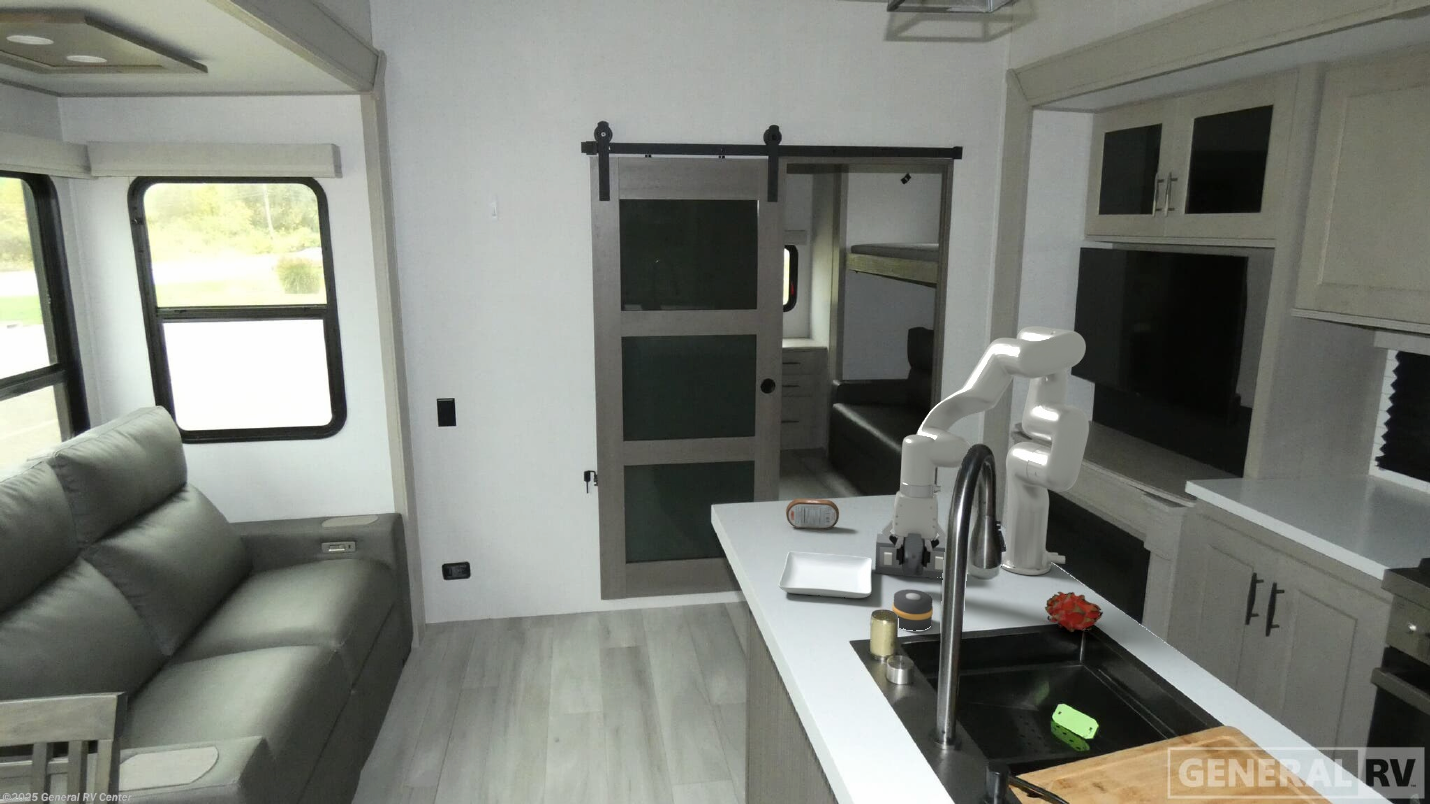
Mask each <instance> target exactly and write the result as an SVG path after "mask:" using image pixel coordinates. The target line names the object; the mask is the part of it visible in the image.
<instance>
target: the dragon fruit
mask: <svg viewBox="0 0 1430 804" xmlns="http://www.w3.org/2000/svg"><path fill="white" fill-rule="evenodd" d="M1045 604H1046V606H1044V609H1045V611H1046V613H1047V614H1048V616H1047V620H1048V621H1049V622H1050V623H1056V622H1057V625H1061V627H1060V628H1063V626H1064V628H1066V630H1067V631H1069V632H1070V633H1073V632H1074V631H1075V630H1079V631H1083V632H1084V633H1085V632H1086V631H1084V630H1083V629H1084V628H1086V630H1088V631H1091V630H1092V629H1093V628H1092V627H1091V626H1093V625H1095V624H1096V622H1098V620H1100V619H1101V618H1102V616H1103V614H1104V611H1101V610H1102V608H1101V607H1100V606H1099V605H1098V604H1095V602H1094V603H1093V602H1089V601H1088V600H1086V596H1085V595H1084V594H1079V595H1076V593H1075V592H1074V591H1072V592H1071V591H1070V592H1069V591H1068V593H1064V592H1062V591H1057V593H1054V595H1052V597H1050V598H1049V599H1047V600H1046V603H1045ZM1050 617H1051V618H1050Z"/></svg>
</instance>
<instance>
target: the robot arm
mask: <svg viewBox="0 0 1430 804" xmlns="http://www.w3.org/2000/svg"><path fill="white" fill-rule="evenodd" d="M1086 347H1087V346H1086V341H1085V339H1084V338H1083V336H1082V335H1081V334H1080V333H1078V332H1077V331H1073V330H1071V329H1070V330H1069V329H1062V328H1053V327H1048V326H1040V325H1037V326H1036V325H1033V326H1032V325H1031V326H1026V327H1023V328H1022V329H1021V330H1020V331H1019V332H1018V334H1017V335H1016V338H1014V337H1013V338H1012V337H999V338H995V340H993V341H992V342H990V344H988V346H987V348H986V349H985V351H984V353H983V355H982V356H981V357H980V359H979V361H978V362H977V363H976V365H975V367H974V369H973V370H972V372H971V373H970V374H969V376H968V378H967V379H966V380H965V383H964V384H963V385H962V387H961V388H960V389H958V390H957V391H955V392H953V393H952V394H950V395H949V396H947V397H945V398H944V399H943V400H941V401H940V402H939V403H938V404H936V405H935V406H934V407H933V408H931V410H930V411H929V413H928V414H927V415H926V417H925V418H924V420H923V421H922V423H921V424H920V426H919V427H918V430H917V432H916V434H910V435H907V436H906V437H904V438H903V441H902V445H901V446H902V447H901V466H900V467H901V469H900V481H899V482H900V485H899V486H900V487H899V490H898V491H896V494H895V498H894V502H893V503H894V504H893V511H892V519H891V520H889V522H888V523H887V524H886V525H885V526H884V527H883V528H882V531H881V534H884V535H885V536H886V537H887V538H888V539H889V540H890V541H891V542H892V543H893V544H894V545H895V547H896V548H897V550H896V560H899V565H902V554H903V546H902V542H903V539H904V537H907V536H908V533H910V534H921V538H923V539H924V540H925V544H926V546H925V550H924V567H925V568H927V563H930V556H931V551H932V549H934V548H935V547H936V546H937V545H939V543H941V542H943V541H945V537H946V534H947V533H946V531H945V530H944V528H942V526H941V525H940V524H939V505H938V504H939V503H938V502H939V501H938V496H937V494H936V493H941V490H942V489H941V488H942V487H941V485H937V484H936V483H935V481H936V469H937V468H943V469H944V468H947V469H956V468H960V466H961V463H962V461H963V458H964V456H965V454H966V453H967V452H968V449H970V447H971V448H972V445H971V444H970V442H969V441H968V440H967V439H965V438H964V437H962V436H960V435H958V434H956V433H955V434H954V433H951V432H949V430H950V428H951V427H952V426H953V425H954V424H956V423H957V422H958V421H960V420H961V419H963V418H966V417H968V416H970V415H973V414H974V415H975V414H978V413H983V412H985V411H989V410H991V409H994V408H995V407H996V406H997V404H998V403H999V401H1000V400H1001V398H1002V396H1003V395H1004V393H1005V391H1006V390H1007V389H1008V387H1009V386H1010V383H1011V382H1012V380H1013V379H1014V378H1015V377H1017V378H1023V379H1028V380H1029V385H1028V386H1029V388H1028V392H1027V396H1026V400H1025V405H1024V409H1023V413H1022V418H1021V429H1022V431H1023V432H1024V433H1025V434H1026V435H1028V436H1030V437H1033V438H1035V439H1037V440H1038V439H1039V440H1042V441H1046V442H1049V443H1051V447H1049V446H1046V445H1042V444H1040V443H1036V442H1031V441H1021V442H1018V443H1015V444H1014V445H1012V446H1011V448H1009V450H1008V452H1007V455H1006V459H1005V468H1006V475H1007V476H1006V477H1007V485H1008V486H1007V487H1008V489H1007V490H1008V492H1007V493H1008V494H1007V504H1006V505H1007V507H1006V508H1007V509H1006V521H1005V536H1004V537H1005V538H1004V543H1005V542H1006V545H1007V551H1006V553H1005V556H1004V563H1003V565H1002V567H1001V568H1002V569H1003V570H1006V571H1008V572H1011V573H1014V574H1020V575H1024V576H1025V575H1028V576H1039V575H1044V574H1046V573H1048V572H1049V571H1050V570H1051V567H1052V566H1051V565H1052V563H1055V564H1063V565H1064V564H1066V556H1065V555H1059V553H1058V552H1049V551H1048V550H1047V549H1046V543H1047V533H1048V532H1047V530H1048V520H1049V519H1048V518H1049V507H1050V497H1049V492H1048V490H1050V491H1053V492H1058V493H1060V492H1066V491H1068V490H1070V489H1071V488H1072V487H1073V486H1074V485H1075V483H1076V481H1077V480H1078V477H1079V475H1080V470H1081V468H1082V467H1081V466H1082V462H1083V458H1084V455H1085V449H1086V447H1087V442H1088V437H1089V434H1090V433H1089V432H1090V423H1089V419H1088V417H1087V415H1086V413H1085V412H1084V411H1083V410H1082V409H1080V408H1079V407H1076V406H1074V405H1069V404H1066V397H1067V391H1068V386H1069V380H1068V379H1069V378H1068V374H1067V370H1068V369H1070V368H1072V367H1074V366H1076V365H1078V364H1079V363H1081V362H1080V361H1081V360H1082V359H1083V358H1084V356H1085V355H1086V354H1085V353H1086ZM961 467H962V466H961ZM891 530H892V532H891ZM895 535H896V536H898V537H896V536H895ZM934 538H935V539H934ZM931 539H933V540H932V541H931Z"/></svg>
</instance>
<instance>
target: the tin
mask: <svg viewBox="0 0 1430 804" xmlns="http://www.w3.org/2000/svg"><path fill="white" fill-rule="evenodd" d="M785 514H786V519H787V522H788V523H789V524H790V525H791V526H792V527H793V528H796V529H803V528H806V530H809V529H810V530H811V529H812V530H829V529H831V528H834V527H835V526H836V524H837V523H838V521H839V518H840V510H839V508H838V505H837V504H836V503H835V502H833V501H832V500H829V499H822V498H821V499H817V498H816V499H815V498H796V499H793V500H791V501H790V502H789V503H788V504H787V506H786V509H785Z"/></svg>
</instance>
